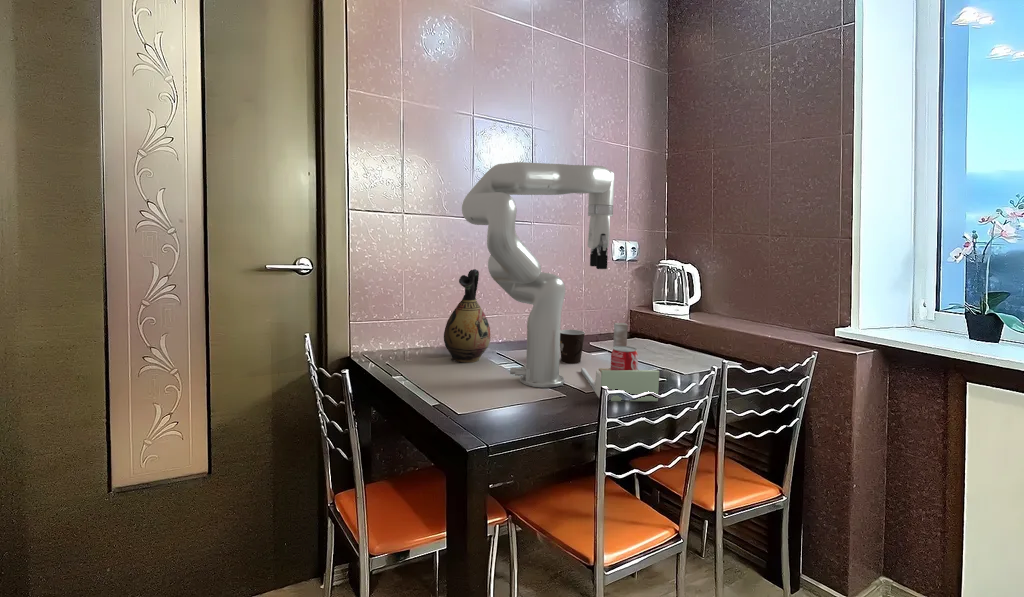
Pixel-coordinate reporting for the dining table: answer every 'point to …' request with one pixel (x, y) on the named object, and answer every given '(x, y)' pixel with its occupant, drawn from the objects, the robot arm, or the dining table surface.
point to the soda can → (624, 358)
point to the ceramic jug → (467, 325)
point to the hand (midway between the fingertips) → (598, 267)
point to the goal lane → (626, 382)
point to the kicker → (618, 337)
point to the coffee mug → (571, 346)
